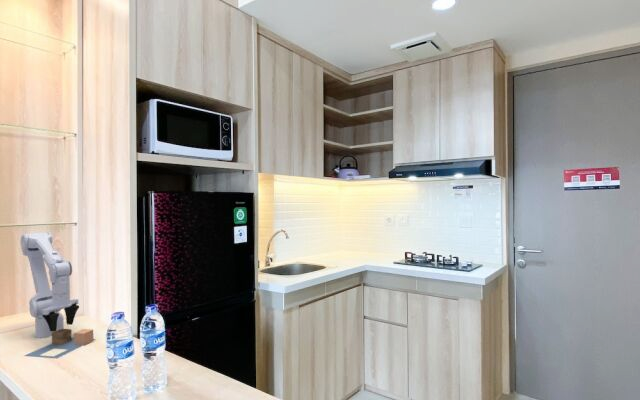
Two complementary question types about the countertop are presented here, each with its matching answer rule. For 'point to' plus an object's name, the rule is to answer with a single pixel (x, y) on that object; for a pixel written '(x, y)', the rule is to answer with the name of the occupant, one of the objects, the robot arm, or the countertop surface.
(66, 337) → the walnut block
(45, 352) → the blueprint board
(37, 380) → the countertop surface
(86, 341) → the terracotta block
